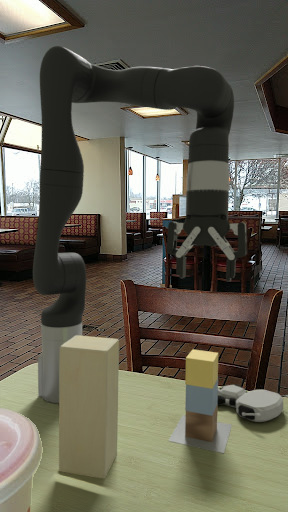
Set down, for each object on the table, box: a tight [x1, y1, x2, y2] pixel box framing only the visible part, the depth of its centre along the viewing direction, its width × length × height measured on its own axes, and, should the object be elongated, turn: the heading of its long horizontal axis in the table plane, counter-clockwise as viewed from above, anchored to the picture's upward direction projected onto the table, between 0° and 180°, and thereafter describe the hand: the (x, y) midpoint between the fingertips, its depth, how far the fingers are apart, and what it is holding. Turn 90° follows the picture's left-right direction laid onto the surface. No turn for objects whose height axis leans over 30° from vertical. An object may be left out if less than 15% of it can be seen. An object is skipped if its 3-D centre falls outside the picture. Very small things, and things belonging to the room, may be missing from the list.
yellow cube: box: [184, 349, 219, 389], centre depth 70 cm, size 5×5×5 cm
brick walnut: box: [185, 404, 219, 442], centre depth 71 cm, size 5×5×5 cm
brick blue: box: [184, 378, 219, 416], centre depth 71 cm, size 5×5×5 cm
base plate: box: [167, 414, 233, 454], centre depth 71 cm, size 10×10×1 cm
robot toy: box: [217, 383, 288, 423], centre depth 81 cm, size 12×4×15 cm
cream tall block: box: [58, 335, 120, 479], centre depth 62 cm, size 8×7×21 cm
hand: (205, 279), depth 69 cm, fingers open, 8 cm apart
